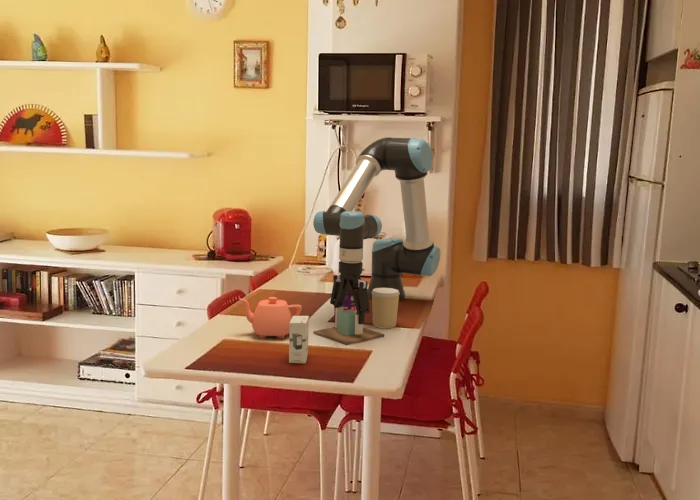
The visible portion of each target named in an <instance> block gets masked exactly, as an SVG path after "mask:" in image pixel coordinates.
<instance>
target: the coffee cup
mask: <svg viewBox="0 0 700 500" xmlns="http://www.w3.org/2000/svg"><path fill="white" fill-rule="evenodd" d="M399 294H400V293H399V291H398V290H397V289H393V288H375V289H373V291H372V299H371V304H372V305H371V306H372V307H371V308H372V309H371V310H372V325H373V326H374V327H375V328H380V329H392V328H395V327H396V326H397V317H398V310H399V309H398V308H399V301H400V300H399Z"/></svg>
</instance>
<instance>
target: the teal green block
mask: <svg viewBox="0 0 700 500" xmlns="http://www.w3.org/2000/svg"><path fill="white" fill-rule="evenodd" d="M356 313H357V311H356V312H355V311H352V310H346V311H341V312H337V332H338V333H341V334H343V335H346V336H349V335H354V334H355V314H356Z"/></svg>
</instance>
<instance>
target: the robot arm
mask: <svg viewBox="0 0 700 500" xmlns="http://www.w3.org/2000/svg"><path fill="white" fill-rule="evenodd" d="M432 161H433V153H432V149H431V145H430V143H428V142H427V141H426V140H425V139H423V138H416V137H411V138H410V137H382V138H379V139H377V140H375V141H373V142H371V143H370V144H369V145H367V147H365V148H364V149H363V150H362V151H361V152H360V154H359V155H358V157H357V158H356V160H355V166H354V168H353V170H352V172H350V174H349V175H348V177H347V178H346V181H345V182H344V183H343V185H342V187H341V188H340V190H339V192H338V193H337V194H336V196H335V197H334V199H333V201H332V202H331V204H330V205H329V207H328V208H327V210H326V211H325V210H323V211H318V212H316V213H315V215H314V218H313V222H312V223H313V229H314V231H315V232H316V233H317V234H320V235H321V234H322V235H326V236H335V237H339V249H338V251H339V252H338V259H339V262H338V273H341V274H340V275H338V274H336V275H333V277H332V280H333V284H332V290H331V295H330V300H329V303H330V305H333V308H334V307H335V312H334V317H335V318H334V320H335V322H334V327H335V328H337V312H341V311H343V307H340V306H343V305H342V303H343V301H344V298H345V296H346V293H347V291H348V290H349V291H350V293H351V294H352V295H353V299H354V303H355V306H356V312H357V313H356V314H355V334H356V335H357V334H362V333H363V328H364V324H365V315H366V314H368V313H371V312H370V302H369V300H372V291H373V289H375V288H393V289H397V290H398V291H399V293H400V294H399V301H402V300H404V299H405V298H406V293H405V290H404V284H403V282H402V281H403V280H402V274H407V275H417V276H421V277H423V276H424V277H431V276H433V275H434V274H436V271H437V269H438V267H439V264H440V260H441V249H440V247H439V246H437V245H435V243H434V242H435V241H434V239H433V237H431V236H430V231H429V221H428V211H427V210H428V209H427V201H426V199H427V198H426V188H425V178H426V176H428V172H430V170H431V169H432V166H433V162H432ZM382 171H394V174H395V179H397V180H398V181H400V193H401V201H402V209H403V210H402V211H403V220H404V229H405V231H404V232H405V239H404V240H403V238H400V237H392V238H389V237H388V238H383V239H382V238H381V239H377V240H374V242H373V243H372V249H371V277H370V280H369V283H368V281H365V280H364V281H363V280H362V278H361V275H362V273H363V266H364V265H363V262H362V261H363V260H364V240H367V239H368V240H369V239H373V238H375V237H377V236H379V234H381V231H382V228H383V224H382V221H381V219H380V218H379V217H378V216H377V215H376V214H370V213H369V214H364V213H363V212H361V211H354V210H355V208H356V206H357V205H358V203H359V202H360V200H361V198H362V197H363V195H364V193H365V192H366V190H367V189H368V187H369V185H370V184H371V182H372V180H373V179H374V177H378V176H379V174H380V173H381V172H382ZM356 289H357V290H356ZM354 290H355V291H354ZM334 299H335V300H334Z"/></svg>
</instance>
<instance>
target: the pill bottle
mask: <svg viewBox="0 0 700 500" xmlns="http://www.w3.org/2000/svg"><path fill="white" fill-rule="evenodd" d="M340 274H341V273H339V272H338V274H337V275H340ZM356 290H357V289H356ZM354 291H355V290H354ZM334 300H335V299H334ZM342 305H343V306H340V307H343V311H346V310H352V311H355V312H357V310H356V306H355V303H354V299H353V295H352V294H351V293H350V291H349V290H348V291H347V293H346V296H345V298H344V301H343V303H342ZM333 312H334V313H335V307H334V306H333Z"/></svg>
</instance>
